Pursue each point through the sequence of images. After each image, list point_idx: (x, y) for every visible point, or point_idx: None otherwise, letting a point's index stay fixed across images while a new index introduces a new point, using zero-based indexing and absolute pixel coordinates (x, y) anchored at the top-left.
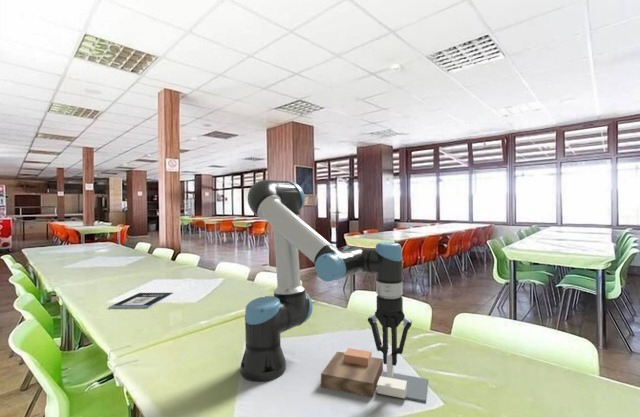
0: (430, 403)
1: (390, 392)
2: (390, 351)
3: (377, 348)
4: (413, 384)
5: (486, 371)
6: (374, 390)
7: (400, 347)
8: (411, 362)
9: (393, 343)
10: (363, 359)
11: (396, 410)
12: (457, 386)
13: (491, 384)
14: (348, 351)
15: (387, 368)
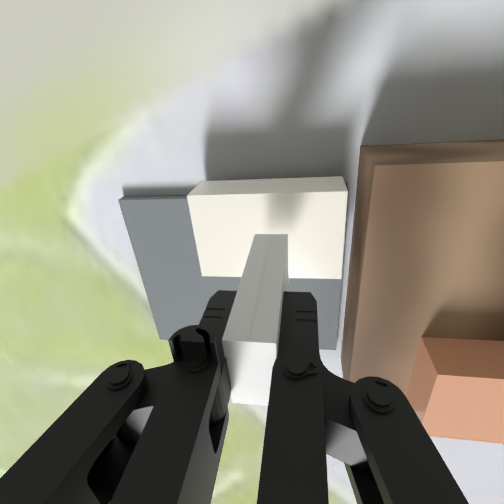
0: (107, 198)
1: (268, 184)
2: (256, 400)
3: (397, 403)
4: (197, 293)
5: (40, 408)
6: (358, 190)
7: (83, 429)
8: (245, 418)
9: (151, 488)
10: (466, 366)
11: (220, 75)
12: (72, 327)
13: (3, 357)
14: None
15: (279, 263)
